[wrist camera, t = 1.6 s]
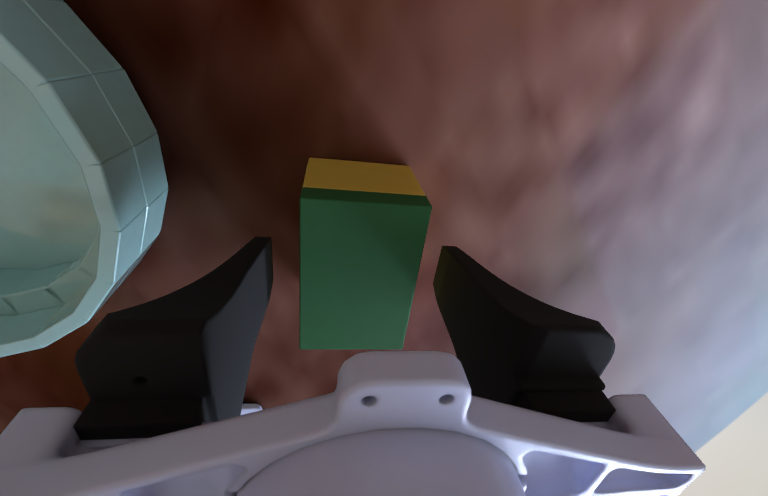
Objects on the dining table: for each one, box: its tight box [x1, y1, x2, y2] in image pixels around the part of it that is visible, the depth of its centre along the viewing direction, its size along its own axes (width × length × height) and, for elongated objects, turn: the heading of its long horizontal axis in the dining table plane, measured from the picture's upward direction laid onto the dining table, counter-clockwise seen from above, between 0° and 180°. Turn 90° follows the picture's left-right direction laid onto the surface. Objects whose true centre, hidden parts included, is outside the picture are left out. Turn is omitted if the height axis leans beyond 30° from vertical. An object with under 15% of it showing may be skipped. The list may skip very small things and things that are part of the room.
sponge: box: [300, 157, 432, 349], centre depth 16 cm, size 7×4×4 cm, turn 173°
